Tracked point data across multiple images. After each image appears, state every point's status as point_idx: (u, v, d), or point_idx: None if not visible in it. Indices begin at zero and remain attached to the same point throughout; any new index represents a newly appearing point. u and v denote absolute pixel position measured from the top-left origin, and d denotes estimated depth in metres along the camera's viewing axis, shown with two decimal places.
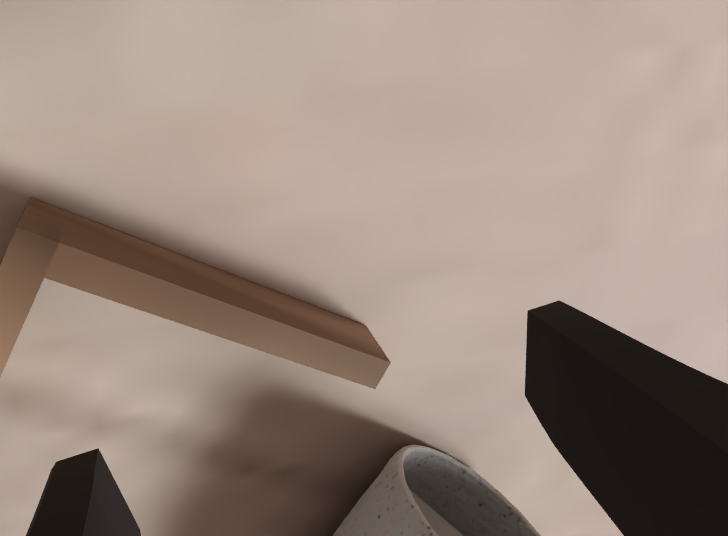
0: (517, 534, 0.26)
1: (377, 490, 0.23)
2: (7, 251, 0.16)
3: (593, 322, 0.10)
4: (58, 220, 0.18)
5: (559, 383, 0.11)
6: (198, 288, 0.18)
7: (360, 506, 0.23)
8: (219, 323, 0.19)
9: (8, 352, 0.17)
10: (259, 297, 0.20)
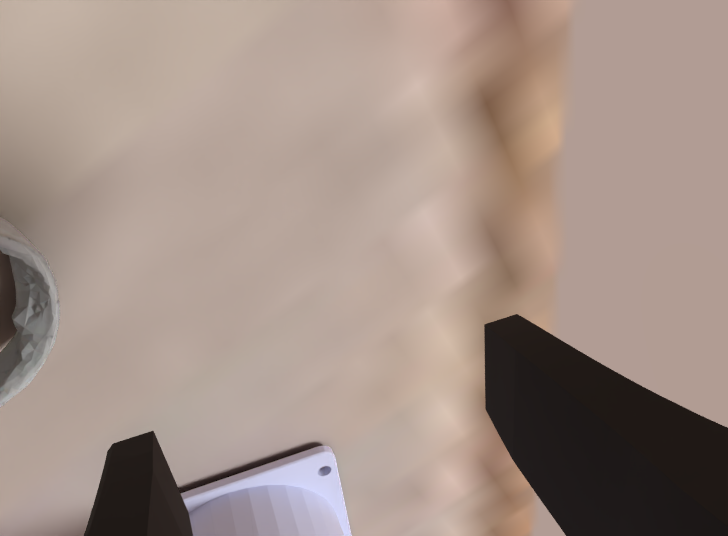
0: None
1: None
2: None
3: (548, 337, 0.10)
4: None
5: (515, 398, 0.11)
6: None
7: None
8: None
9: None
10: None
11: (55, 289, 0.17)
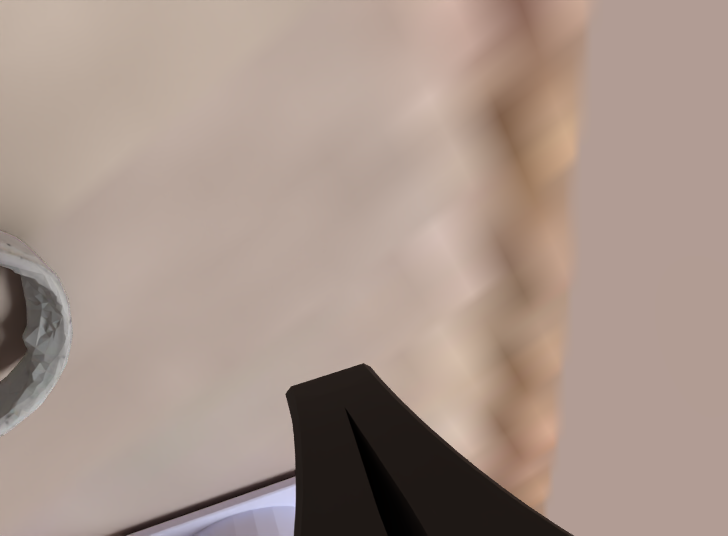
0: None
1: None
2: None
3: (381, 392, 0.10)
4: None
5: None
6: None
7: None
8: None
9: None
10: None
11: (68, 308, 0.17)
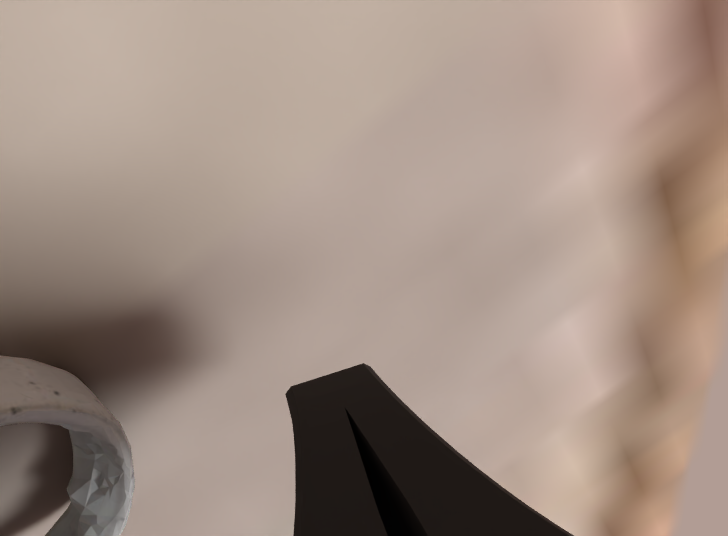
0: None
1: None
2: None
3: (381, 392, 0.10)
4: None
5: None
6: None
7: None
8: None
9: None
10: None
11: (130, 461, 0.12)
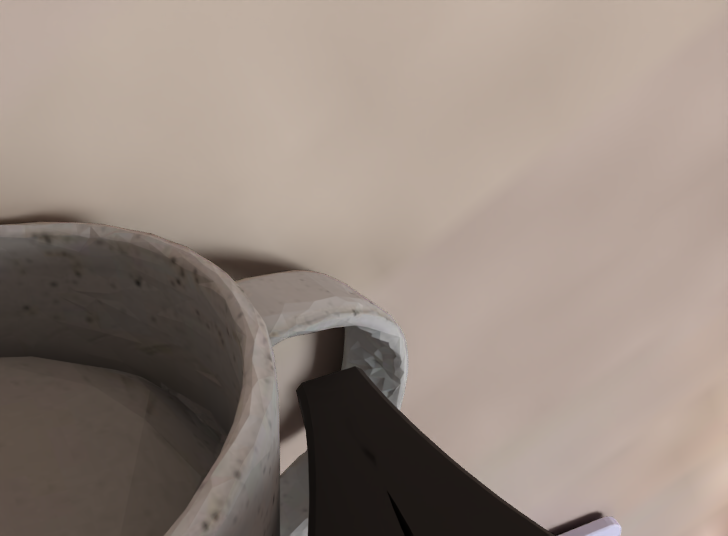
0: (211, 312, 0.10)
1: None
2: None
3: (372, 395, 0.10)
4: None
5: None
6: None
7: None
8: None
9: None
10: None
11: (406, 375, 0.13)
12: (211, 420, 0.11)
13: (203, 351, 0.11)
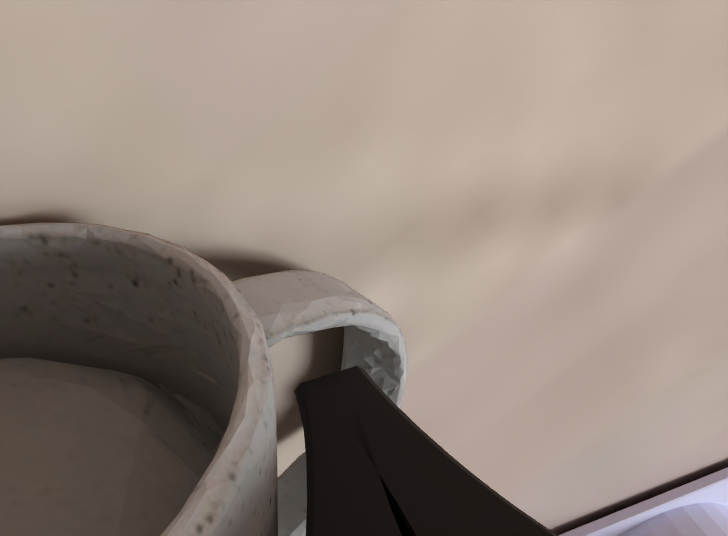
0: (208, 312, 0.10)
1: None
2: None
3: (374, 394, 0.10)
4: None
5: None
6: None
7: None
8: None
9: None
10: None
11: (406, 374, 0.13)
12: (210, 421, 0.11)
13: (201, 351, 0.11)
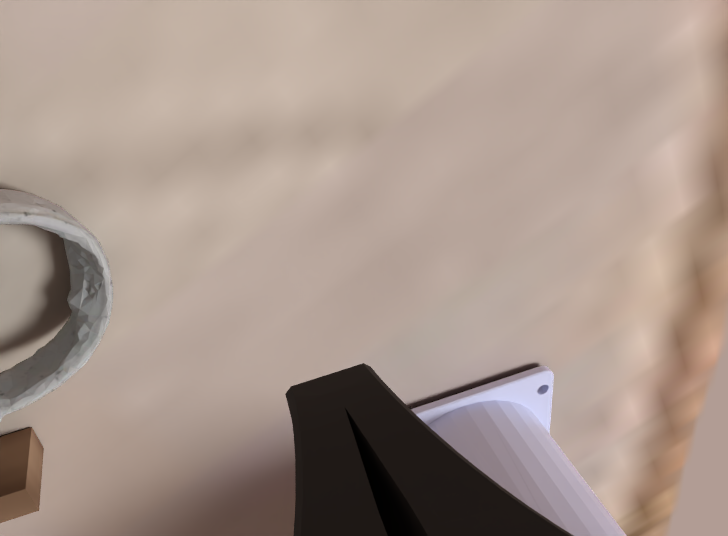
0: None
1: None
2: None
3: (382, 392, 0.10)
4: None
5: None
6: None
7: None
8: None
9: None
10: None
11: (108, 271, 0.18)
12: None
13: None
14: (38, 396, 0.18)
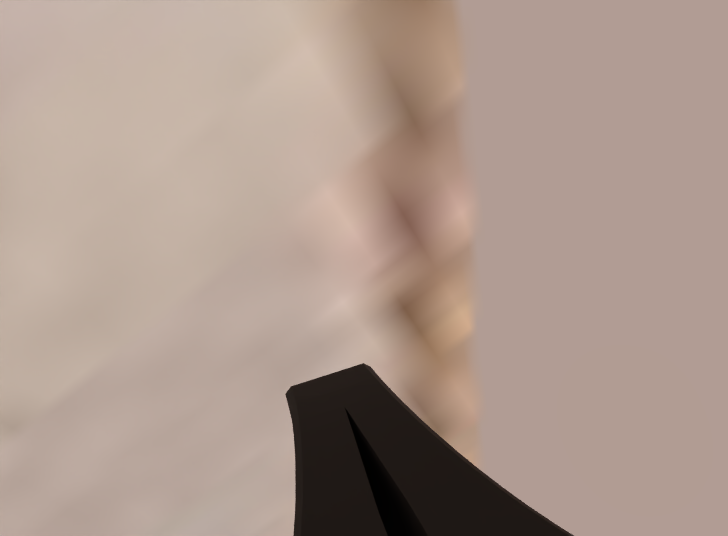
0: None
1: None
2: None
3: (381, 393, 0.10)
4: None
5: None
6: None
7: None
8: None
9: None
10: None
11: None
12: None
13: None
14: None
